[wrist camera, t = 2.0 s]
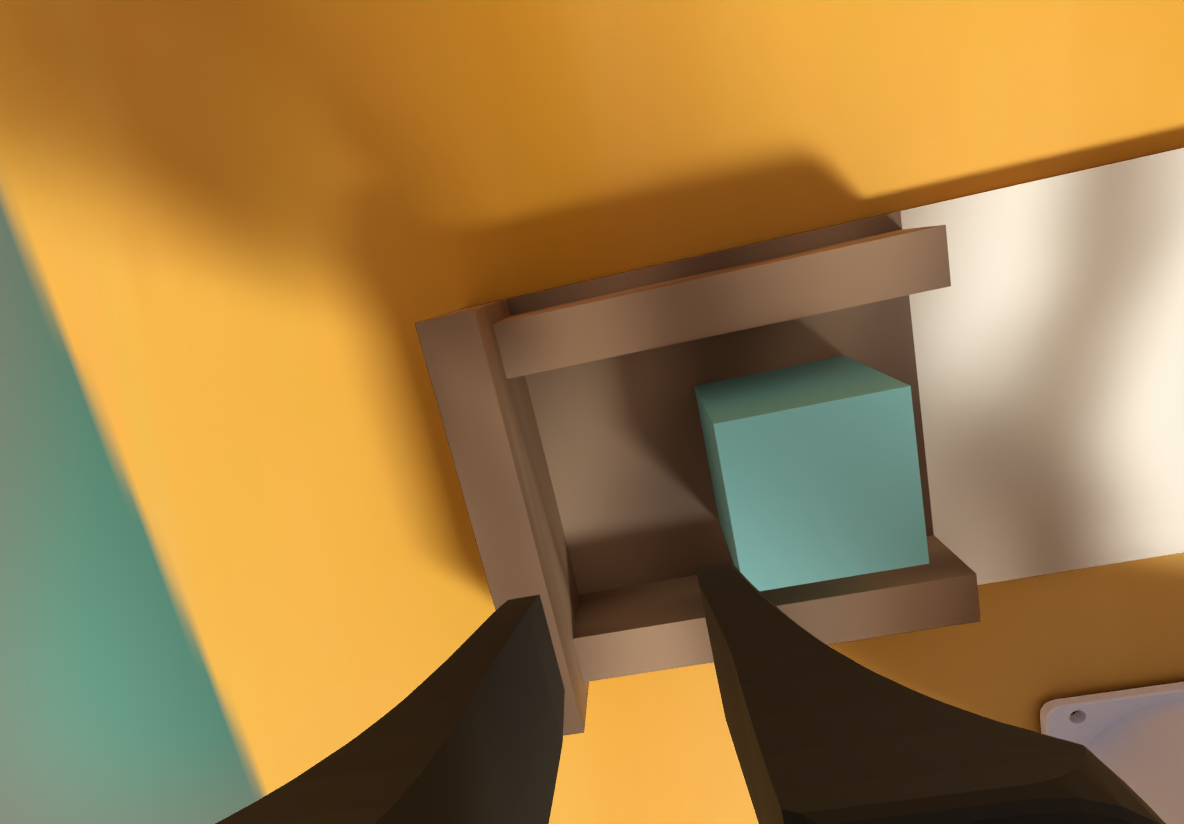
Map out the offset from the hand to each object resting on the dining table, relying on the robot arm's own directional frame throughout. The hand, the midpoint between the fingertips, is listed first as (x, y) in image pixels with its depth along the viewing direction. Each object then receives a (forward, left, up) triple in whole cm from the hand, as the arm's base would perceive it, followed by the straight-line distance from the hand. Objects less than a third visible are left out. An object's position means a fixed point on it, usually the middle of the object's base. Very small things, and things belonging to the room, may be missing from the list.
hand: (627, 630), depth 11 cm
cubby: (-7, 0, -9) cm, 12 cm away
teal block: (-5, 0, -9) cm, 10 cm away
